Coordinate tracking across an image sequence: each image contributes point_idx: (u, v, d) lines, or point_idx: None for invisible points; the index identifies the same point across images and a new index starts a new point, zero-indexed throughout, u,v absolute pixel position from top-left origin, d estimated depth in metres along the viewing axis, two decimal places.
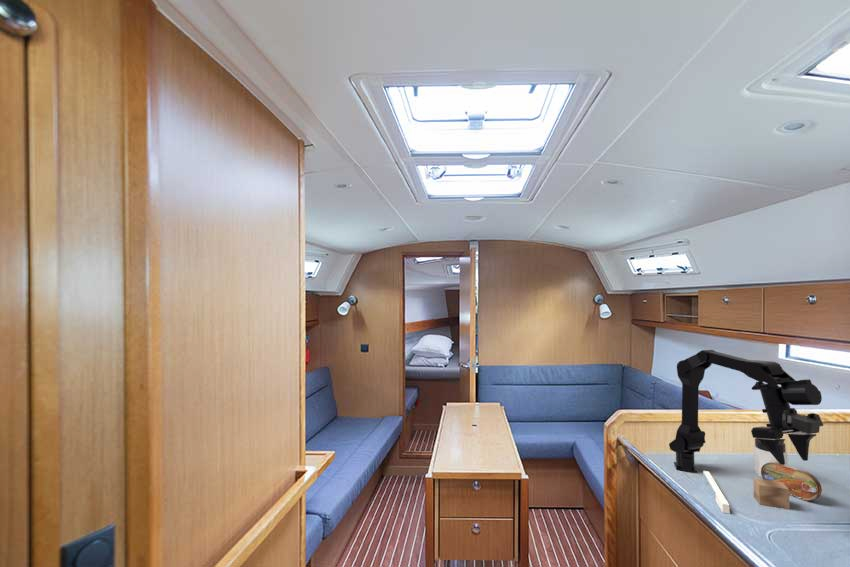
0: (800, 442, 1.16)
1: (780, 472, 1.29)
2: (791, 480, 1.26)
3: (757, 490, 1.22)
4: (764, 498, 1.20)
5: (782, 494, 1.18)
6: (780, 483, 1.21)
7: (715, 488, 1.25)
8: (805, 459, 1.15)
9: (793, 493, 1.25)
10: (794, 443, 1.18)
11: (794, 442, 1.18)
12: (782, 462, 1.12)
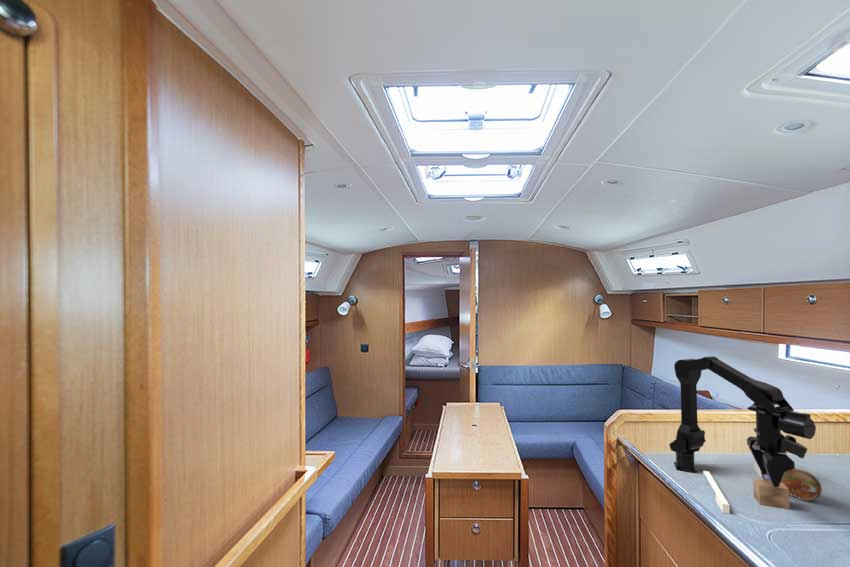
0: None
1: None
2: (791, 480, 1.26)
3: (757, 490, 1.22)
4: (764, 498, 1.20)
5: (782, 494, 1.18)
6: (780, 483, 1.21)
7: (715, 488, 1.25)
8: (764, 473, 1.26)
9: (793, 493, 1.25)
10: (757, 458, 1.27)
11: (757, 458, 1.27)
12: (777, 485, 1.17)
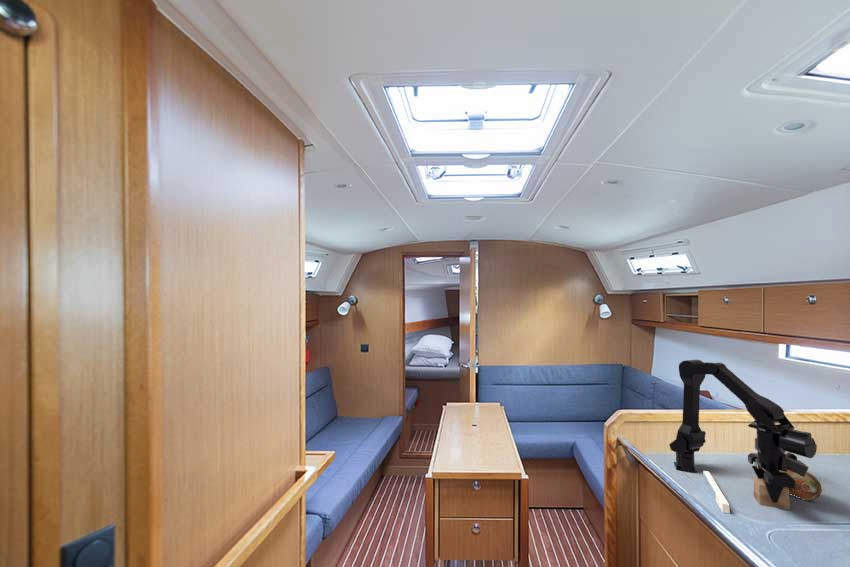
0: None
1: None
2: None
3: (757, 490, 1.22)
4: (764, 498, 1.20)
5: (782, 494, 1.18)
6: None
7: (715, 488, 1.25)
8: None
9: (793, 493, 1.25)
10: (760, 478, 1.25)
11: (760, 477, 1.25)
12: (776, 501, 1.18)
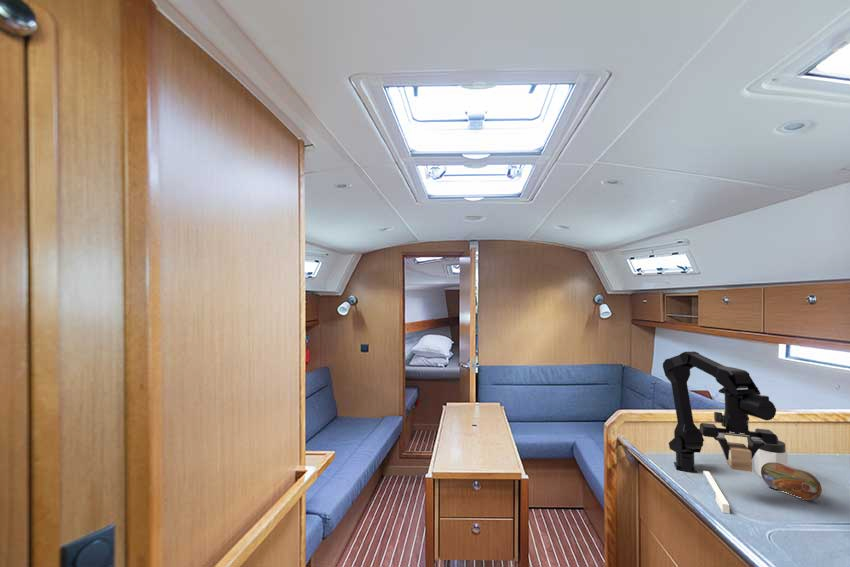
0: None
1: (780, 472, 1.29)
2: (791, 480, 1.26)
3: (745, 458, 1.21)
4: None
5: None
6: (730, 443, 1.28)
7: (715, 488, 1.25)
8: None
9: (793, 493, 1.25)
10: None
11: None
12: None
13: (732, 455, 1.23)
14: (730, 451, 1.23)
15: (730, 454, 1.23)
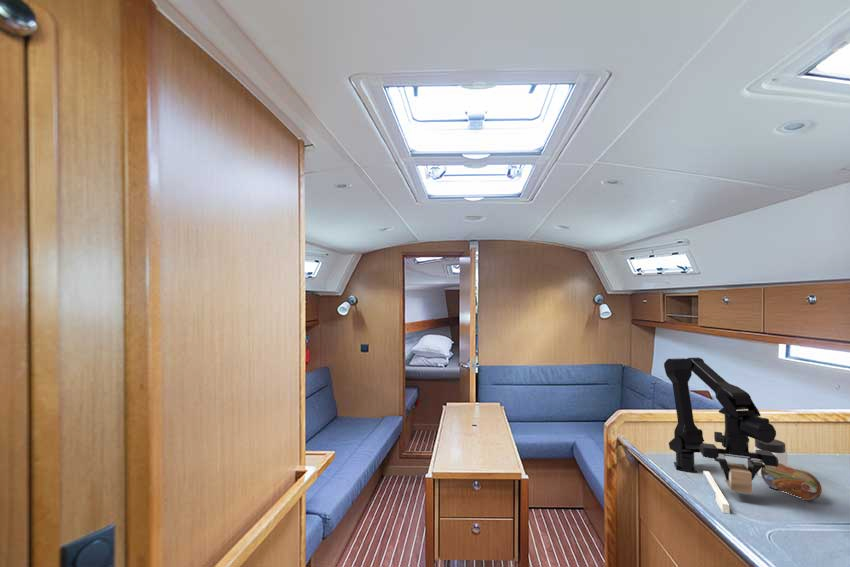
0: None
1: (780, 472, 1.29)
2: (791, 480, 1.26)
3: (745, 480, 1.21)
4: None
5: None
6: (730, 463, 1.28)
7: (715, 488, 1.25)
8: None
9: (793, 493, 1.25)
10: None
11: None
12: None
13: (732, 476, 1.22)
14: (730, 472, 1.23)
15: (730, 475, 1.23)
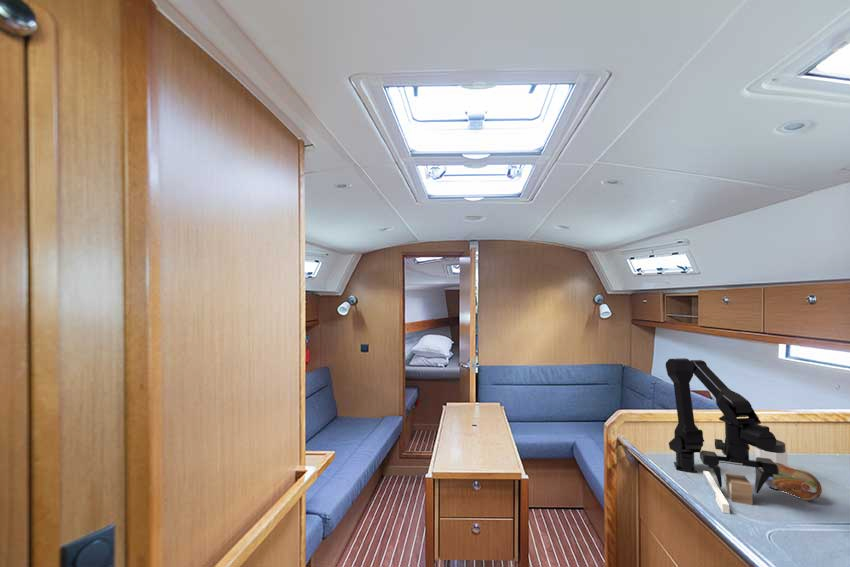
0: None
1: (780, 472, 1.29)
2: (791, 480, 1.26)
3: (745, 491, 1.21)
4: None
5: None
6: (730, 474, 1.28)
7: (715, 488, 1.25)
8: None
9: (793, 493, 1.25)
10: (720, 474, 1.25)
11: (720, 474, 1.25)
12: None
13: (732, 488, 1.22)
14: (730, 484, 1.23)
15: (730, 487, 1.23)
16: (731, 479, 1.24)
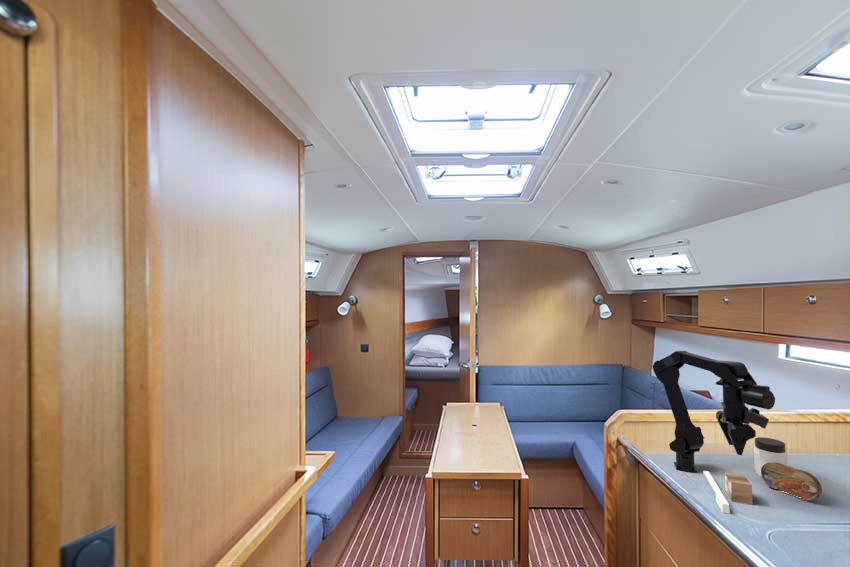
0: None
1: (780, 472, 1.29)
2: (791, 480, 1.26)
3: (745, 491, 1.21)
4: None
5: None
6: (730, 474, 1.28)
7: (715, 488, 1.25)
8: (731, 444, 1.34)
9: (793, 493, 1.25)
10: (724, 430, 1.35)
11: (724, 430, 1.35)
12: (741, 453, 1.25)
13: (732, 488, 1.22)
14: (730, 484, 1.23)
15: (730, 487, 1.23)
16: (731, 479, 1.24)
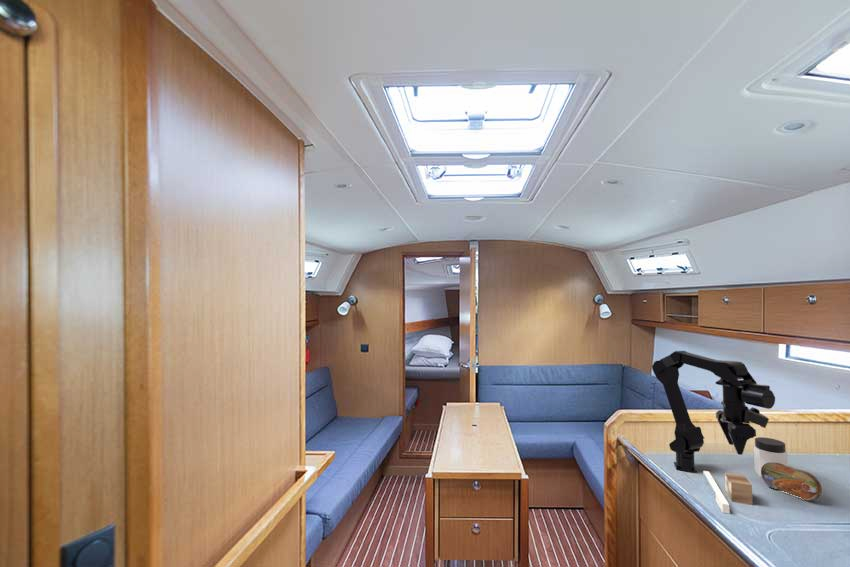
0: None
1: (780, 472, 1.29)
2: (791, 480, 1.26)
3: (745, 491, 1.21)
4: None
5: None
6: (730, 474, 1.28)
7: (715, 488, 1.25)
8: (731, 443, 1.34)
9: (793, 493, 1.25)
10: (724, 430, 1.35)
11: (724, 429, 1.35)
12: (741, 453, 1.25)
13: (732, 488, 1.22)
14: (730, 484, 1.23)
15: (730, 487, 1.23)
16: (731, 479, 1.24)
